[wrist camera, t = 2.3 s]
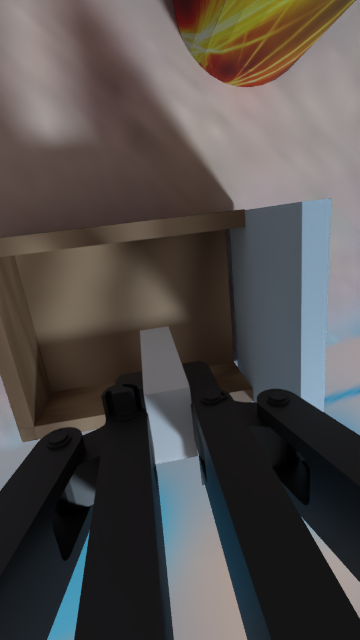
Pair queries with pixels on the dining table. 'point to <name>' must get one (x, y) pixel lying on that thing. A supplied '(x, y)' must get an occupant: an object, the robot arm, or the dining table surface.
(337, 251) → the dining table surface
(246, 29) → the mug
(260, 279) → the pale blue square panel
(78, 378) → the crate
